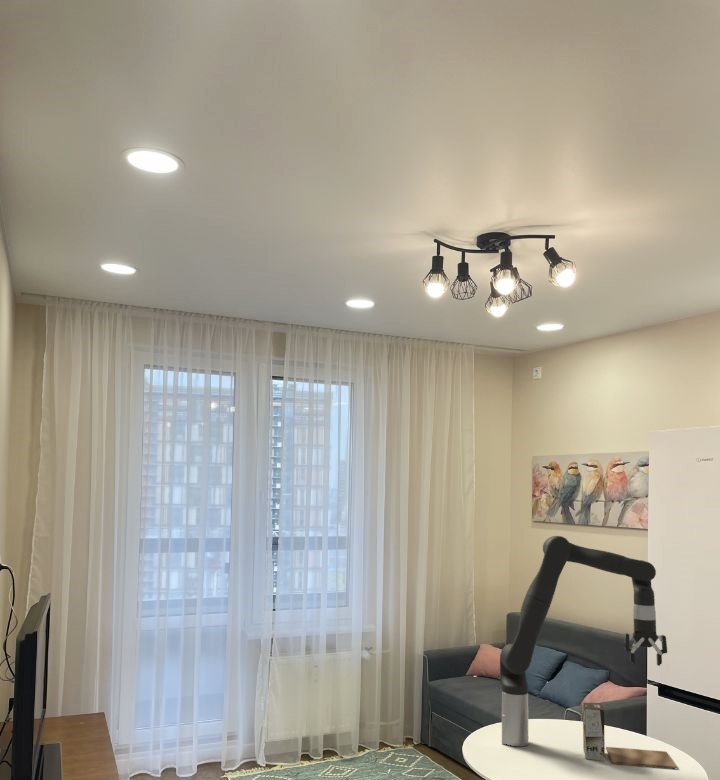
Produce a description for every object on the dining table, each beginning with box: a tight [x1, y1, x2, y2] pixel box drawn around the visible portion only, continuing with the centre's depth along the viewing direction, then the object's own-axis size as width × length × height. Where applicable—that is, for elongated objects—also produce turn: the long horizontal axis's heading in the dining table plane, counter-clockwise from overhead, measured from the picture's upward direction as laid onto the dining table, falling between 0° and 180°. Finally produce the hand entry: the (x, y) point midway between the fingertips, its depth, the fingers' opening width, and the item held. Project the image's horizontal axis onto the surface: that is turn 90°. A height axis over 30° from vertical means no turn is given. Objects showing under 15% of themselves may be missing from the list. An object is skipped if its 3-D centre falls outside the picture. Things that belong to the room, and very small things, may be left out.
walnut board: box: [605, 746, 678, 769], centre depth 253 cm, size 20×15×1 cm
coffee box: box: [582, 702, 606, 762], centre depth 256 cm, size 9×6×16 cm
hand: (645, 664), depth 268 cm, fingers open, 8 cm apart
